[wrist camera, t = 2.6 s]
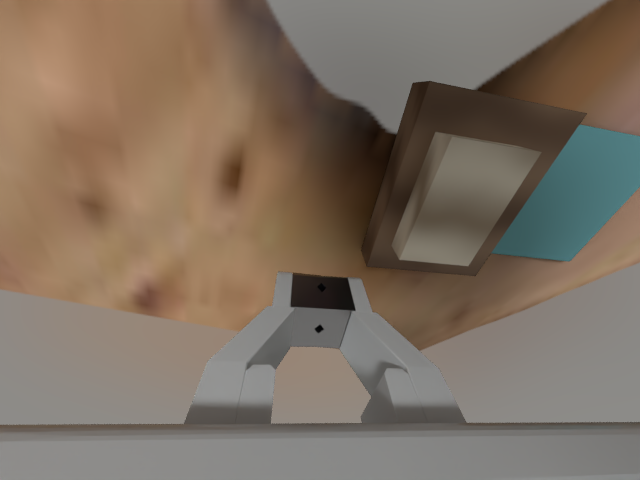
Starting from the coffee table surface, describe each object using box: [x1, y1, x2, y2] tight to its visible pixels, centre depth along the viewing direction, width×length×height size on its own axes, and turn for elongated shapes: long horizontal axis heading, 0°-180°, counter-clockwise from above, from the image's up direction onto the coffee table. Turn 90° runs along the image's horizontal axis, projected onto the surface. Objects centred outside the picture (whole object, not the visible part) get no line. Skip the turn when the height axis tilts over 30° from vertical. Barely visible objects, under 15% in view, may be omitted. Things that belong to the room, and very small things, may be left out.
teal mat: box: [492, 125, 640, 261], centre depth 21 cm, size 12×10×1 cm
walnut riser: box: [361, 81, 587, 276], centre depth 19 cm, size 14×11×2 cm
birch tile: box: [391, 132, 542, 266], centre depth 17 cm, size 9×6×2 cm, turn 171°
